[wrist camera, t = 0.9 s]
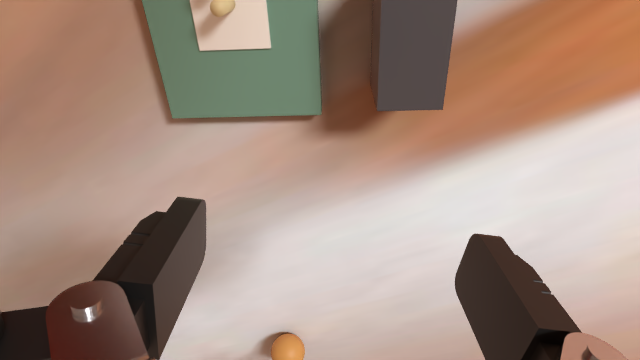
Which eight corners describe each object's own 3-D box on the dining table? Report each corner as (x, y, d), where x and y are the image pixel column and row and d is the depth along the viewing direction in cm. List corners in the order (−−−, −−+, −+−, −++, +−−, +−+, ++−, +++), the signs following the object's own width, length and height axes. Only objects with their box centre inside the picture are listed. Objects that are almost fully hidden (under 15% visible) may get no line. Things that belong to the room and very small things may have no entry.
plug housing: (373, -36, 25) (382, -34, 20) (436, -40, 25) (462, -38, 20) (370, 83, 29) (377, 111, 24) (424, 82, 29) (442, 109, 24)
